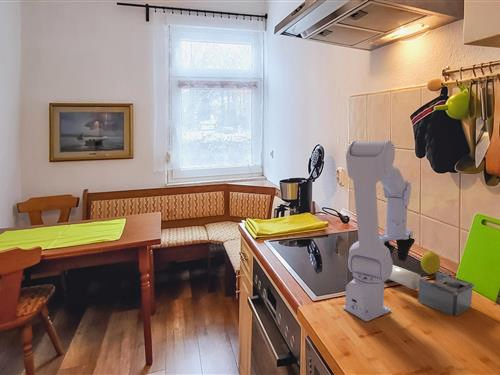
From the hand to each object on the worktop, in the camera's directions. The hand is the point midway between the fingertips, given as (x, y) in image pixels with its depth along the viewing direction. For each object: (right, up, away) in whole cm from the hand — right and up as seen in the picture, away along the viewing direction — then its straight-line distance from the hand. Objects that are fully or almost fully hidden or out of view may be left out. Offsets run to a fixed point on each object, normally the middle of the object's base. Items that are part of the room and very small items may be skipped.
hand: (394, 262), depth 101 cm
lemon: (+14, -6, +6) cm, 17 cm away
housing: (+8, -8, -12) cm, 17 cm away
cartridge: (+2, -7, -1) cm, 7 cm away
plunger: (+9, -4, -15) cm, 18 cm away
